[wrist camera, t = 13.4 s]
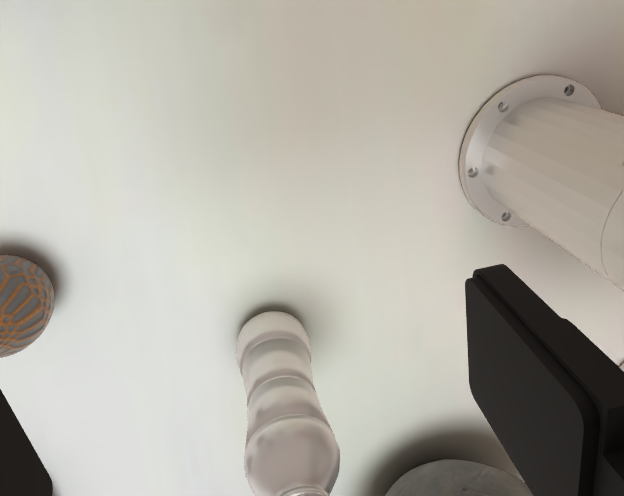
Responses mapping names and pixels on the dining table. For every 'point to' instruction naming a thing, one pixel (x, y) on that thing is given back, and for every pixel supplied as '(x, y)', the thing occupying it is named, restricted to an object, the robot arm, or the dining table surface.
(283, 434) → the plastic bottle
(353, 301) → the dining table surface
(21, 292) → the vase
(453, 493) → the bowl
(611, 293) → the dining table surface
